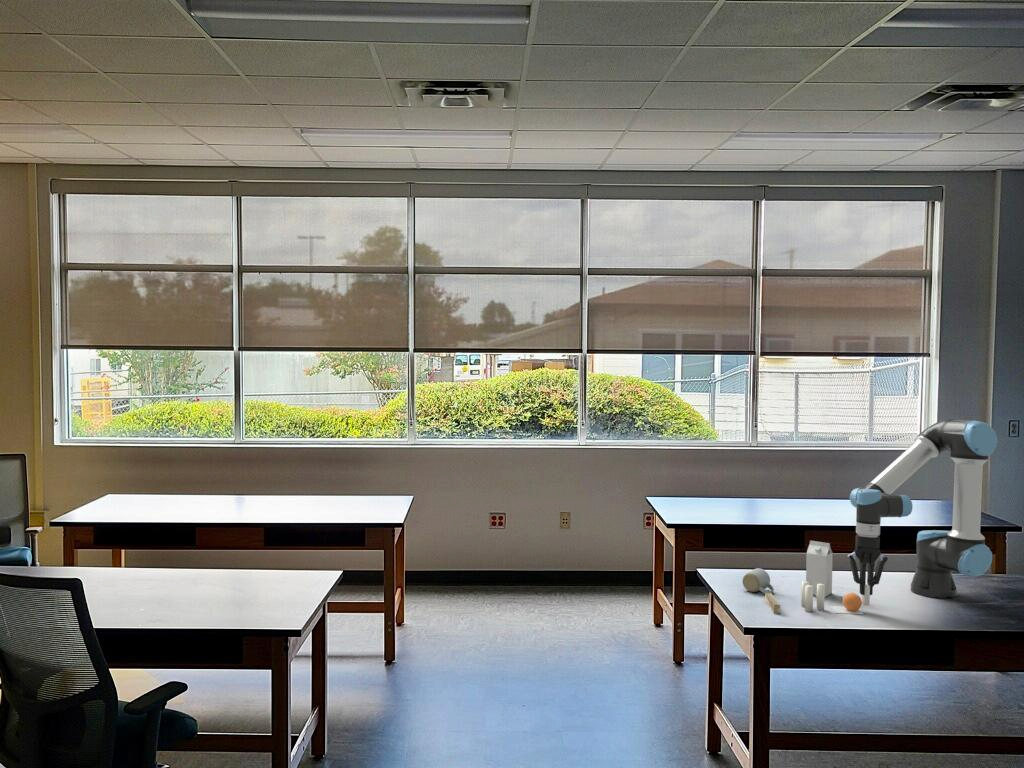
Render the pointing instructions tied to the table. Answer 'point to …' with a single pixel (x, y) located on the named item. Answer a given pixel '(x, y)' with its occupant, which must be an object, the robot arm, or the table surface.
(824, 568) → the milk carton
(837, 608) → the white square tile
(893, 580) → the table surface
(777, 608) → the bar
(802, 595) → the pin
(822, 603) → the pin front
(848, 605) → the ball
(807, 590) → the pin
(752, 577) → the ceramic mug
